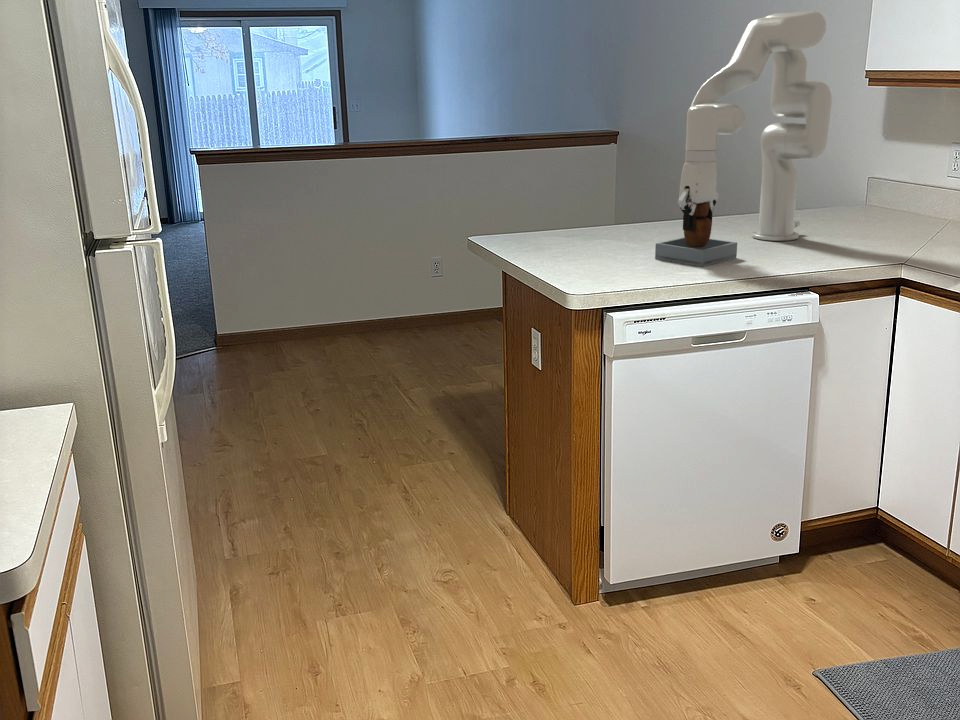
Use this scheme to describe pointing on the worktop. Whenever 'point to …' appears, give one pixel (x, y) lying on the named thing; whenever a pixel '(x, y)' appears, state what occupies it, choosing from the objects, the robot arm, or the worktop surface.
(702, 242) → the wooden figurine
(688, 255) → the slate tray
